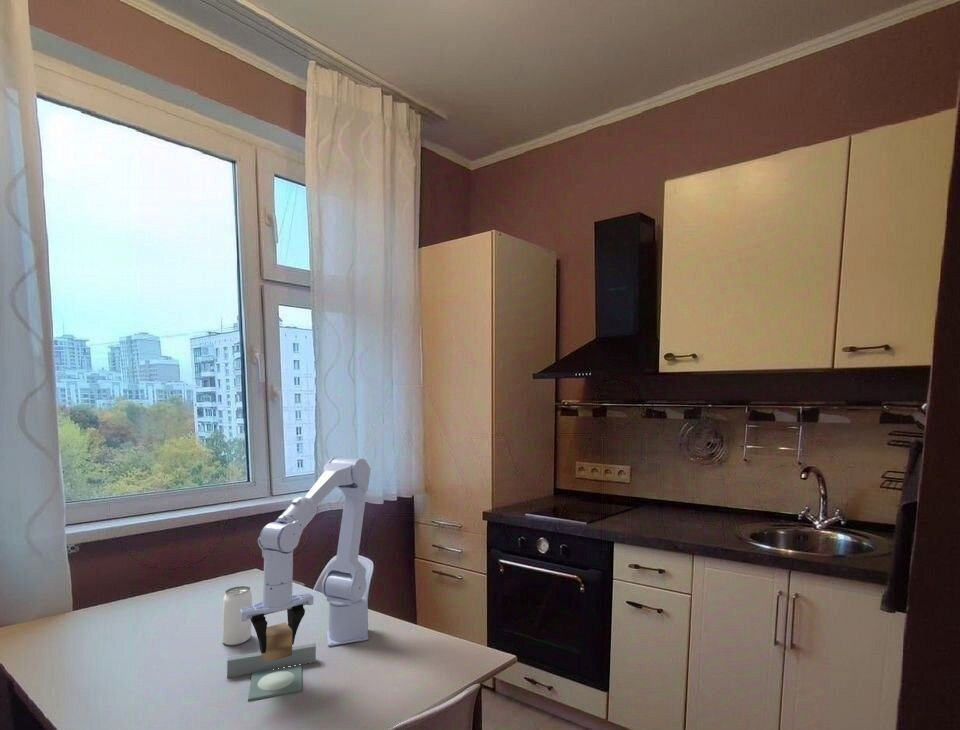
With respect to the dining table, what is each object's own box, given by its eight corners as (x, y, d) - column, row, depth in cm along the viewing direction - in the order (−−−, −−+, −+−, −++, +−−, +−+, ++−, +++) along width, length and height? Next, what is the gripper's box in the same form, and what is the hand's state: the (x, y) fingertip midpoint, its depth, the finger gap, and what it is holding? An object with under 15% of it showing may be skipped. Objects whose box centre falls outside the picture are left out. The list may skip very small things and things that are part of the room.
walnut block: (285, 646, 110) (285, 622, 110) (292, 655, 106) (292, 630, 106) (260, 653, 107) (261, 628, 107) (266, 662, 103) (267, 637, 103)
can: (239, 647, 121) (240, 595, 122) (216, 644, 122) (217, 594, 123) (256, 634, 127) (257, 586, 128) (234, 632, 129) (235, 584, 129)
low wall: (315, 659, 115) (315, 643, 115) (315, 662, 114) (315, 646, 114) (227, 674, 109) (228, 657, 109) (227, 677, 108) (227, 660, 108)
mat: (301, 666, 112) (301, 664, 112) (301, 690, 103) (301, 688, 103) (252, 675, 109) (252, 672, 109) (247, 701, 99) (247, 698, 99)
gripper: (306, 568, 115) (305, 630, 114) (237, 582, 106) (235, 649, 105) (317, 577, 109) (316, 642, 108) (244, 593, 100) (242, 664, 99)
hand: (276, 647), depth 106 cm, fingers closed on walnut block, 5 cm apart
